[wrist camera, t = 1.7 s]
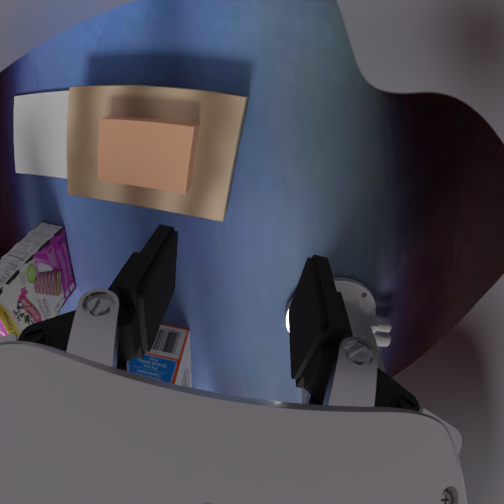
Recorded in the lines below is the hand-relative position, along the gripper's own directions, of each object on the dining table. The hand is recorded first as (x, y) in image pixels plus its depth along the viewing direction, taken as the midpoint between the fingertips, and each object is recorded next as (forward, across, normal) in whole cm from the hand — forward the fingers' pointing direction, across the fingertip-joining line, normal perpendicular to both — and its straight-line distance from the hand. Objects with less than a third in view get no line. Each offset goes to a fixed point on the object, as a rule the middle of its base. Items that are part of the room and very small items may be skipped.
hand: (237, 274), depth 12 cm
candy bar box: (+20, +26, +18) cm, 37 cm away
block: (+16, +10, 0) cm, 19 cm away
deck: (+19, +11, 0) cm, 22 cm away
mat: (+19, +27, 0) cm, 33 cm away
